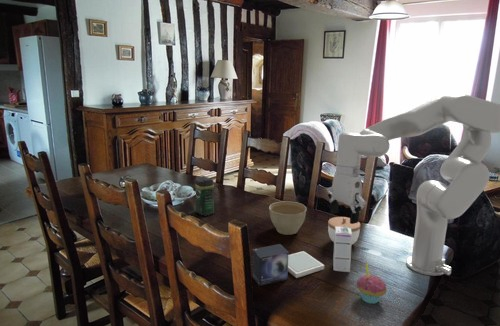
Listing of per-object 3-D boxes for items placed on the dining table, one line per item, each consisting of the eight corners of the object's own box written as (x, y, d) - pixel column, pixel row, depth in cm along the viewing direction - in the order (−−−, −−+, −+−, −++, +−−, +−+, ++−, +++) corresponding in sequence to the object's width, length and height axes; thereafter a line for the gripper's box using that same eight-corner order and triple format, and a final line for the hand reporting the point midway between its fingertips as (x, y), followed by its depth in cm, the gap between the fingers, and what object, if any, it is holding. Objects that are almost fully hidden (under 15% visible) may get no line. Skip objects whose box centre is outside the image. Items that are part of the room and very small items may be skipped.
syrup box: (350, 272, 121) (353, 233, 118) (332, 270, 122) (335, 232, 119) (349, 264, 126) (351, 227, 123) (332, 262, 127) (334, 225, 124)
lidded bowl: (357, 252, 135) (360, 226, 132) (324, 247, 139) (326, 221, 137) (359, 239, 146) (361, 214, 144) (329, 234, 151) (330, 210, 148)
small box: (259, 287, 112) (260, 257, 110) (251, 277, 118) (251, 248, 116) (288, 280, 116) (289, 251, 114) (279, 270, 122) (279, 243, 120)
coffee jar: (216, 214, 173) (216, 178, 169) (202, 217, 169) (201, 180, 164) (207, 208, 181) (206, 173, 177) (193, 211, 176) (192, 176, 172)
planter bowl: (271, 222, 164) (271, 200, 161) (306, 225, 161) (307, 202, 158) (266, 236, 148) (266, 212, 146) (304, 240, 145) (305, 215, 143)
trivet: (324, 269, 123) (324, 264, 123) (296, 278, 117) (296, 273, 117) (303, 254, 133) (303, 250, 133) (276, 262, 128) (277, 257, 127)
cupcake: (354, 303, 104) (357, 267, 101) (356, 288, 112) (359, 254, 109) (385, 310, 101) (389, 273, 98) (385, 294, 109) (389, 259, 106)
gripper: (376, 174, 110) (370, 225, 114) (338, 163, 125) (334, 208, 129) (358, 177, 107) (354, 229, 111) (321, 165, 122) (318, 211, 125)
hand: (343, 218), depth 120 cm, fingers open, 9 cm apart
